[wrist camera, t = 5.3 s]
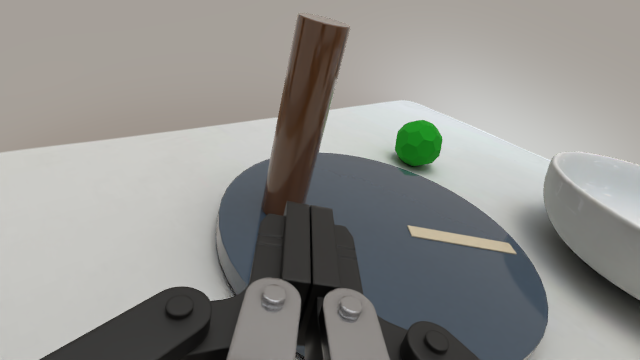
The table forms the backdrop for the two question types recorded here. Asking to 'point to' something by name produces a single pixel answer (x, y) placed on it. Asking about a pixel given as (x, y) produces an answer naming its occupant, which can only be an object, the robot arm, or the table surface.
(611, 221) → the serving bowl
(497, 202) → the table surface
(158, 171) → the table surface
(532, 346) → the peg stand
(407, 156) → the polyhedron
